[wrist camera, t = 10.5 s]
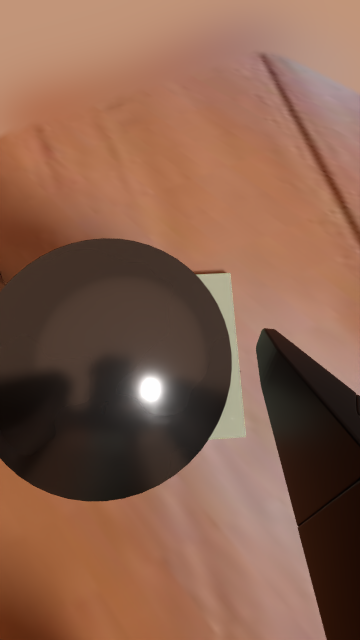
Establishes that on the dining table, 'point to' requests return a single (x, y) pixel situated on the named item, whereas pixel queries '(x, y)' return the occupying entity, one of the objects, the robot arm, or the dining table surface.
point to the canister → (108, 369)
